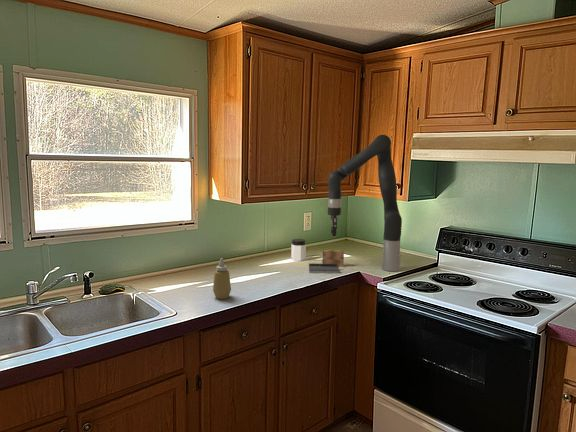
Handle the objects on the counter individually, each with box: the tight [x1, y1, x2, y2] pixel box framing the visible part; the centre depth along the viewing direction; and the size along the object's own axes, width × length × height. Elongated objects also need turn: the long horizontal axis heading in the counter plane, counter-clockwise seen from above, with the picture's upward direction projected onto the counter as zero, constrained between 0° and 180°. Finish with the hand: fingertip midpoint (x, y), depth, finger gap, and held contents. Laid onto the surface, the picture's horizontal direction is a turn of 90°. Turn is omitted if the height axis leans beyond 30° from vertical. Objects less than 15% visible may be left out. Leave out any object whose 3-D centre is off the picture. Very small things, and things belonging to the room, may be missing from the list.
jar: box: [290, 238, 307, 262], centre depth 260 cm, size 9×8×12 cm
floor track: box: [308, 262, 340, 274], centre depth 236 cm, size 16×9×3 cm, turn 88°
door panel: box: [321, 249, 345, 268], centre depth 246 cm, size 12×3×9 cm, turn 88°
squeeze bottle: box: [212, 257, 232, 300], centre depth 191 cm, size 8×8×18 cm
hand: (333, 234), depth 244 cm, fingers open, 8 cm apart
